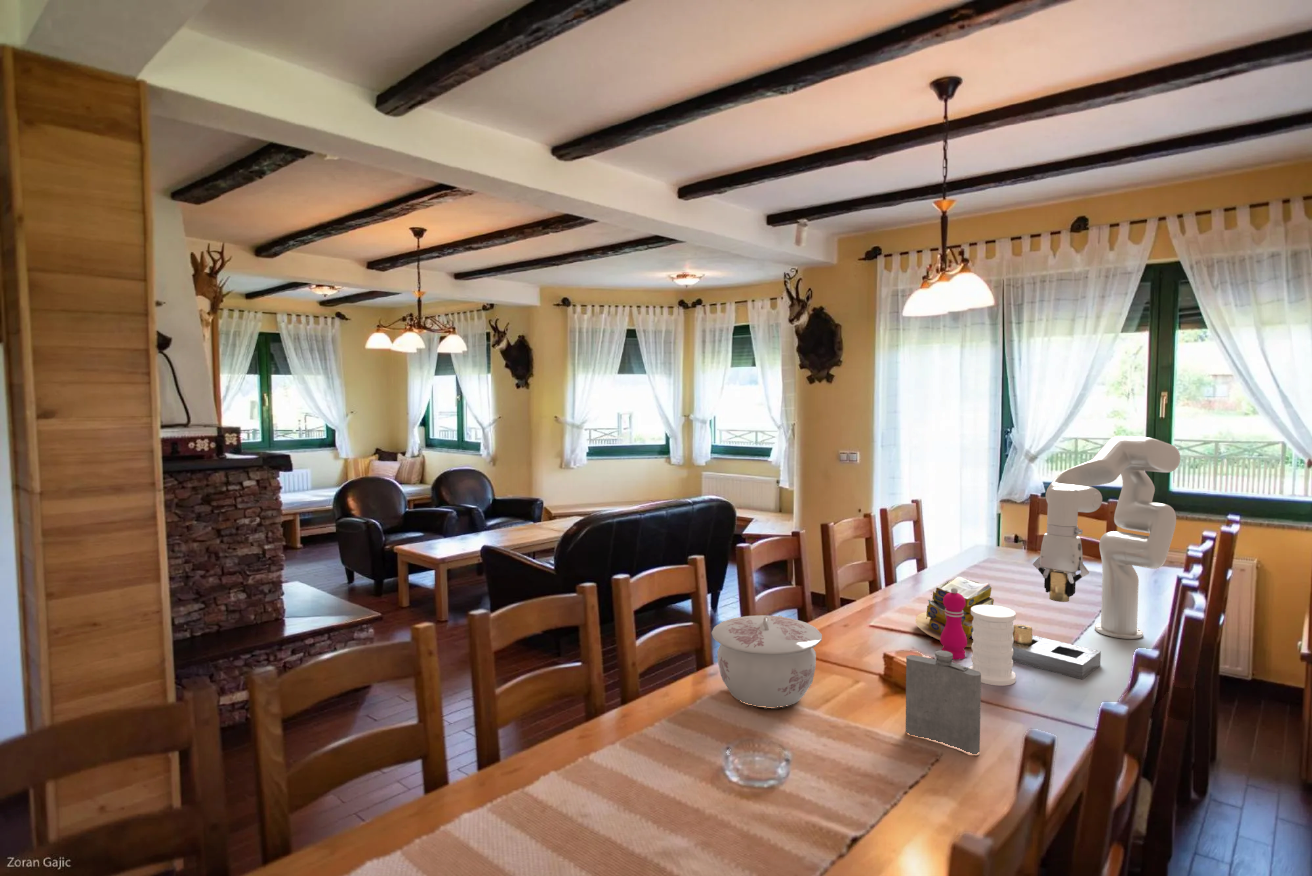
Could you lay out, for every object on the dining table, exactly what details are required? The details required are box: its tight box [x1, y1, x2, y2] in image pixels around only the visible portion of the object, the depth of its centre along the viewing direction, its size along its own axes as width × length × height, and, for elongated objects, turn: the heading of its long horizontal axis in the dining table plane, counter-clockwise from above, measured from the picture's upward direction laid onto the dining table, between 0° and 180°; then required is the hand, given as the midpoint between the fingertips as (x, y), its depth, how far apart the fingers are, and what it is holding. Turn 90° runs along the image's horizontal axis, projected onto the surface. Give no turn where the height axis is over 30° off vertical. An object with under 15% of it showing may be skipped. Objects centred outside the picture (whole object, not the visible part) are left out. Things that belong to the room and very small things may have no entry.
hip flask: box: [905, 650, 982, 754], centre depth 157 cm, size 16×4×20 cm, turn 47°
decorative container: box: [968, 604, 1017, 687], centre depth 192 cm, size 12×12×18 cm
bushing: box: [1048, 570, 1070, 603], centre depth 206 cm, size 5×5×8 cm
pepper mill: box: [939, 588, 967, 661], centre depth 207 cm, size 7×7×20 cm
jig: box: [1012, 623, 1102, 681], centre depth 203 cm, size 14×24×8 cm, turn 41°
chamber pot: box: [711, 614, 823, 707], centre depth 181 cm, size 28×28×21 cm
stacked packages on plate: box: [914, 575, 994, 648], centre depth 225 cm, size 25×25×17 cm
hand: (1059, 593), depth 206 cm, fingers closed on bushing, 5 cm apart
